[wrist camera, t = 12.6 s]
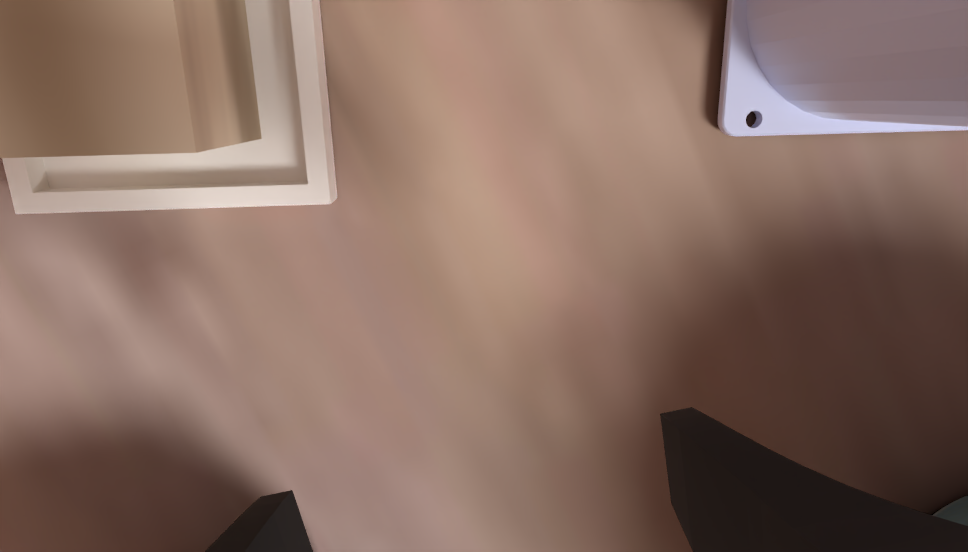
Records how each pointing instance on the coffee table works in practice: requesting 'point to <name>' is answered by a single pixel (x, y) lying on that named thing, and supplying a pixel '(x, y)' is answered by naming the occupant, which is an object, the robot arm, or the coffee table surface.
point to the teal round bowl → (955, 511)
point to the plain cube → (124, 77)
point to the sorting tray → (222, 171)
